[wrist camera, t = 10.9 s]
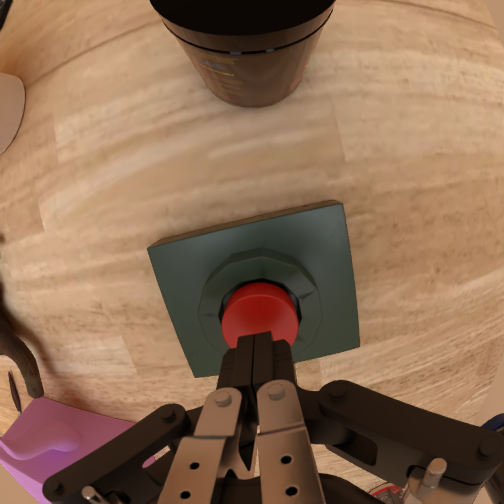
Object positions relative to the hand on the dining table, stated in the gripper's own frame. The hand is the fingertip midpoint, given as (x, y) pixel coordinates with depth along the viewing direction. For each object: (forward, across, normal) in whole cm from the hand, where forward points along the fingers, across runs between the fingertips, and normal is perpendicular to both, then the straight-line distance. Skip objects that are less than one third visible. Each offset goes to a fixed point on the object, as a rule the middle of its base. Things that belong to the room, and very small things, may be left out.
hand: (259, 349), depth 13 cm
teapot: (+8, +24, +16) cm, 30 cm away
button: (+4, 0, 0) cm, 4 cm away
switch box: (+7, 0, 0) cm, 7 cm away
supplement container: (+8, -3, -15) cm, 17 cm away
